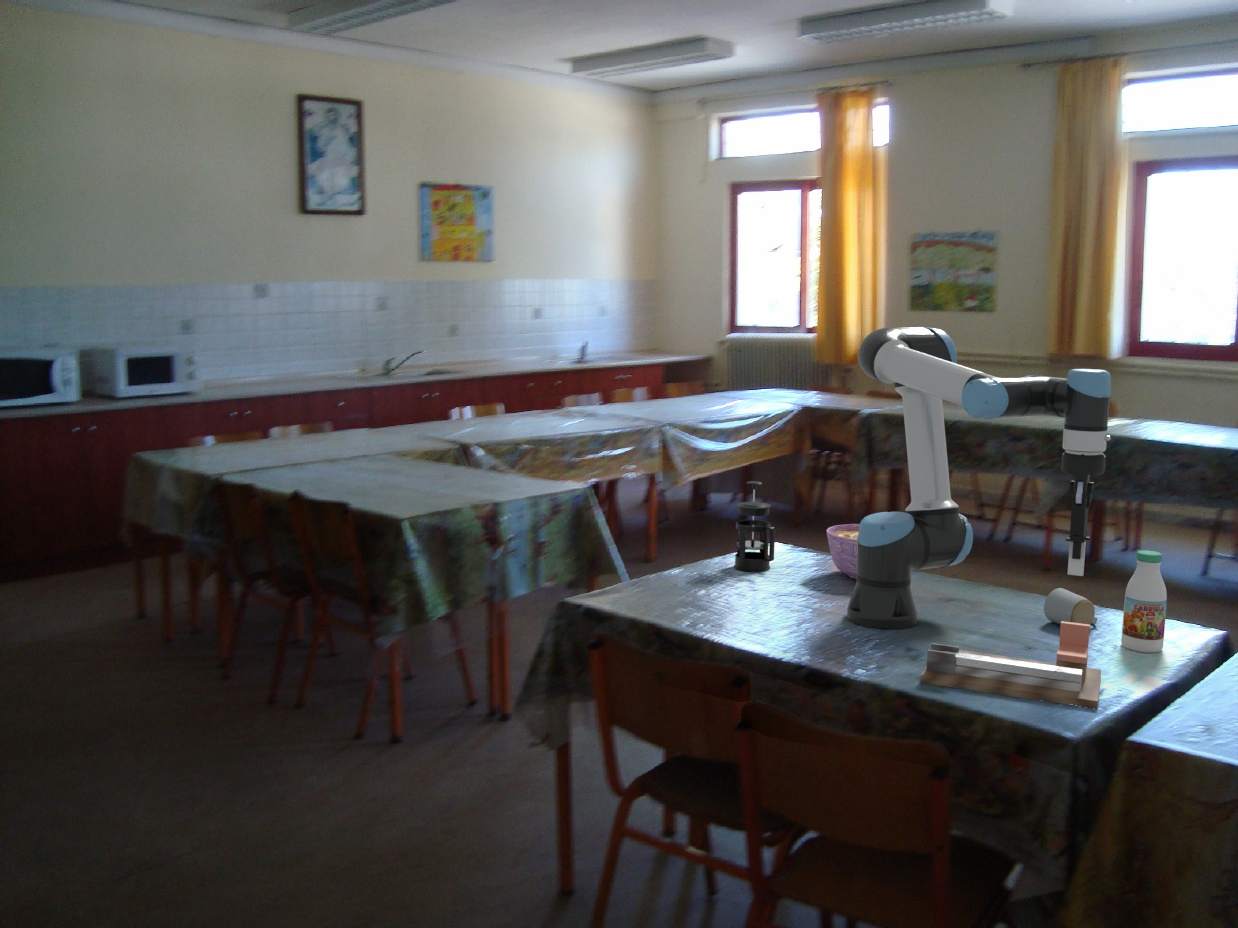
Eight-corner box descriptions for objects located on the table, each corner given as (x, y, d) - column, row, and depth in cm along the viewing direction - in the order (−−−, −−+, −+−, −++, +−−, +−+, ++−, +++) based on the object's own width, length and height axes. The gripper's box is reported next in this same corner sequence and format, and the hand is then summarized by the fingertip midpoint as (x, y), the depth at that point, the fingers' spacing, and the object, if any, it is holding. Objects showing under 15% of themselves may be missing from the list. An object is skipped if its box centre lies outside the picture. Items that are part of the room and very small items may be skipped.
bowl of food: (903, 569, 285) (905, 526, 283) (906, 588, 266) (908, 542, 264) (826, 564, 289) (827, 522, 288) (823, 583, 270) (824, 538, 268)
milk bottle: (1113, 642, 225) (1120, 548, 222) (1148, 641, 226) (1156, 547, 223) (1134, 654, 218) (1141, 557, 215) (1170, 653, 218) (1179, 556, 215)
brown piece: (920, 682, 201) (922, 653, 200) (937, 654, 217) (938, 627, 216) (1097, 709, 188) (1099, 679, 187) (1100, 677, 204) (1102, 649, 203)
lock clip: (1056, 659, 199) (1058, 632, 198) (1059, 647, 206) (1061, 621, 205) (1086, 664, 196) (1088, 636, 196) (1087, 651, 204) (1089, 624, 203)
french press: (724, 567, 286) (726, 481, 282) (746, 561, 292) (748, 477, 289) (760, 575, 277) (763, 486, 274) (782, 569, 284) (785, 482, 281)
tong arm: (941, 662, 202) (941, 654, 202) (944, 657, 205) (944, 650, 205) (1080, 682, 192) (1081, 674, 192) (1081, 677, 195) (1082, 669, 195)
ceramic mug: (1071, 633, 231) (1074, 598, 230) (1041, 623, 238) (1044, 589, 237) (1106, 628, 236) (1110, 593, 234) (1076, 618, 243) (1079, 584, 242)
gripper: (1103, 457, 196) (1094, 584, 199) (1108, 449, 207) (1099, 569, 211) (1059, 454, 199) (1050, 579, 203) (1065, 446, 211) (1057, 564, 214)
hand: (1075, 574), depth 207 cm, fingers closed
